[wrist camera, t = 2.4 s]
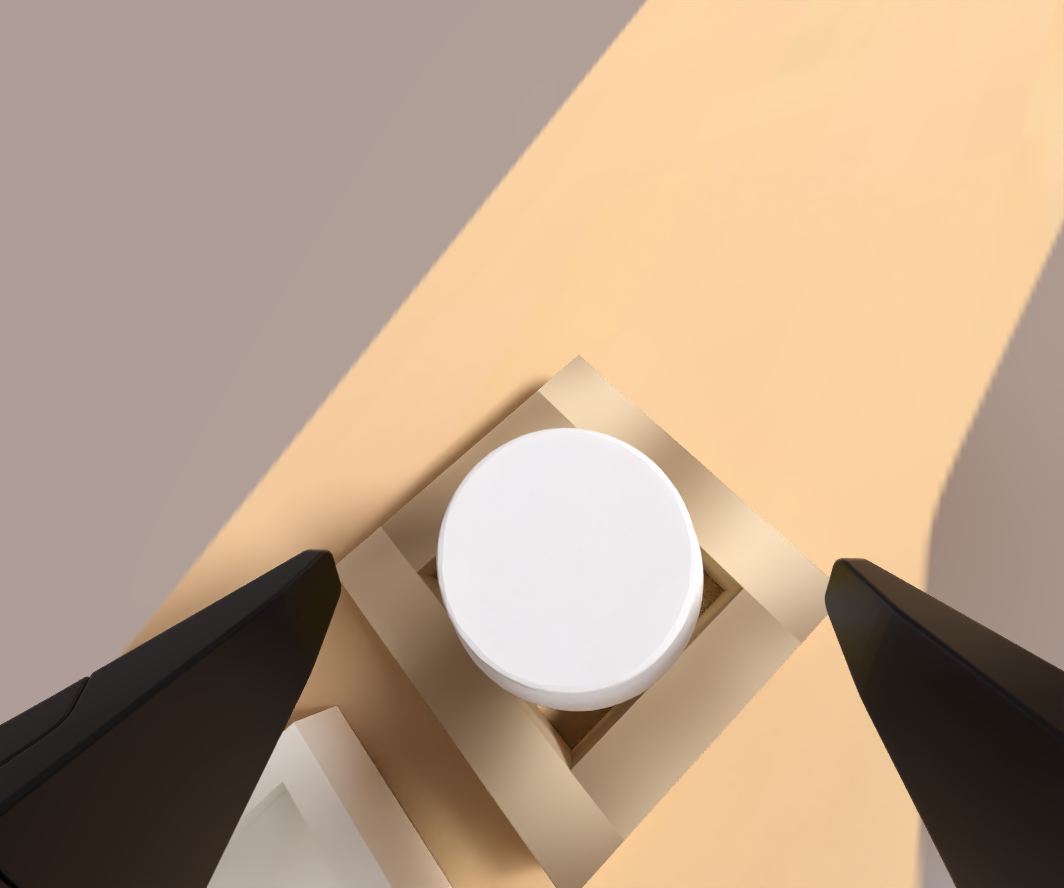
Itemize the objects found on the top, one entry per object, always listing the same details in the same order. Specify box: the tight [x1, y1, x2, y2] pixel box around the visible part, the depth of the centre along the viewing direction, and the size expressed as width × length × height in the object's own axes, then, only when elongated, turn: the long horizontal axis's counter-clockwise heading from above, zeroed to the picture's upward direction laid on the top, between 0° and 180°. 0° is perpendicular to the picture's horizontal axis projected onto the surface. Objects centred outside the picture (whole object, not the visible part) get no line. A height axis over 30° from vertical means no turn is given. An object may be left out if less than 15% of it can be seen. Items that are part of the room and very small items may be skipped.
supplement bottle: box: [436, 428, 703, 711], centre depth 12 cm, size 5×5×10 cm
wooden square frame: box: [336, 355, 830, 888], centre depth 15 cm, size 11×11×2 cm
